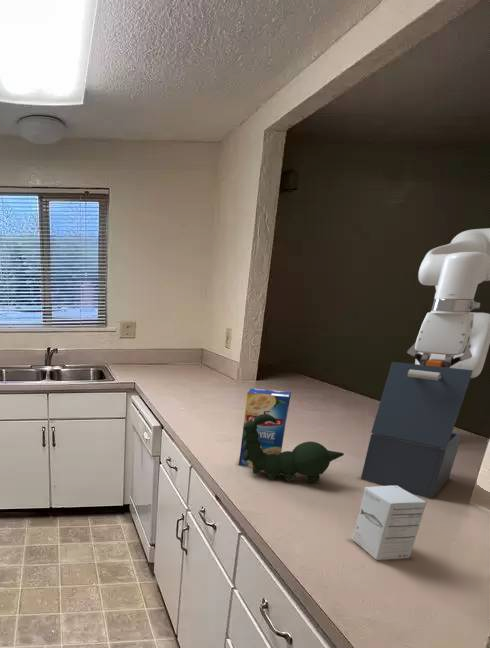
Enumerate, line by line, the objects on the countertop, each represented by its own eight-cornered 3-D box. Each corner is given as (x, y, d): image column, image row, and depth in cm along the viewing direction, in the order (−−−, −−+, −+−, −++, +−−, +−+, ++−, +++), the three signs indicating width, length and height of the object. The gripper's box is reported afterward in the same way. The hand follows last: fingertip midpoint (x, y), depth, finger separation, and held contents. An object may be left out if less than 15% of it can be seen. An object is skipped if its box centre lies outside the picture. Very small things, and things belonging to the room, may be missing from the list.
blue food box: (277, 471, 125) (289, 397, 118) (238, 464, 130) (247, 392, 122) (279, 463, 131) (291, 391, 123) (242, 457, 136) (250, 388, 128)
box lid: (393, 362, 112) (387, 360, 108) (473, 370, 100) (469, 368, 97) (371, 432, 116) (365, 433, 112) (446, 448, 104) (442, 449, 101)
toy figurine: (241, 483, 121) (343, 490, 112) (242, 418, 115) (351, 419, 106) (242, 471, 129) (338, 476, 120) (244, 409, 123) (344, 410, 114)
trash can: (382, 462, 131) (392, 421, 127) (448, 478, 120) (462, 434, 115) (360, 478, 120) (371, 434, 116) (431, 498, 109) (445, 450, 104)
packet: (426, 381, 115) (432, 358, 113) (440, 383, 113) (446, 360, 111) (420, 384, 112) (426, 361, 110) (434, 386, 109) (440, 362, 107)
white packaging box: (350, 540, 91) (363, 485, 87) (383, 538, 92) (398, 484, 87) (375, 561, 84) (390, 503, 80) (411, 559, 85) (428, 501, 80)
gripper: (498, 307, 102) (474, 384, 109) (415, 305, 114) (398, 375, 120) (492, 308, 98) (468, 388, 104) (407, 306, 110) (389, 378, 116)
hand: (431, 380), depth 112 cm, fingers closed on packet, 3 cm apart
